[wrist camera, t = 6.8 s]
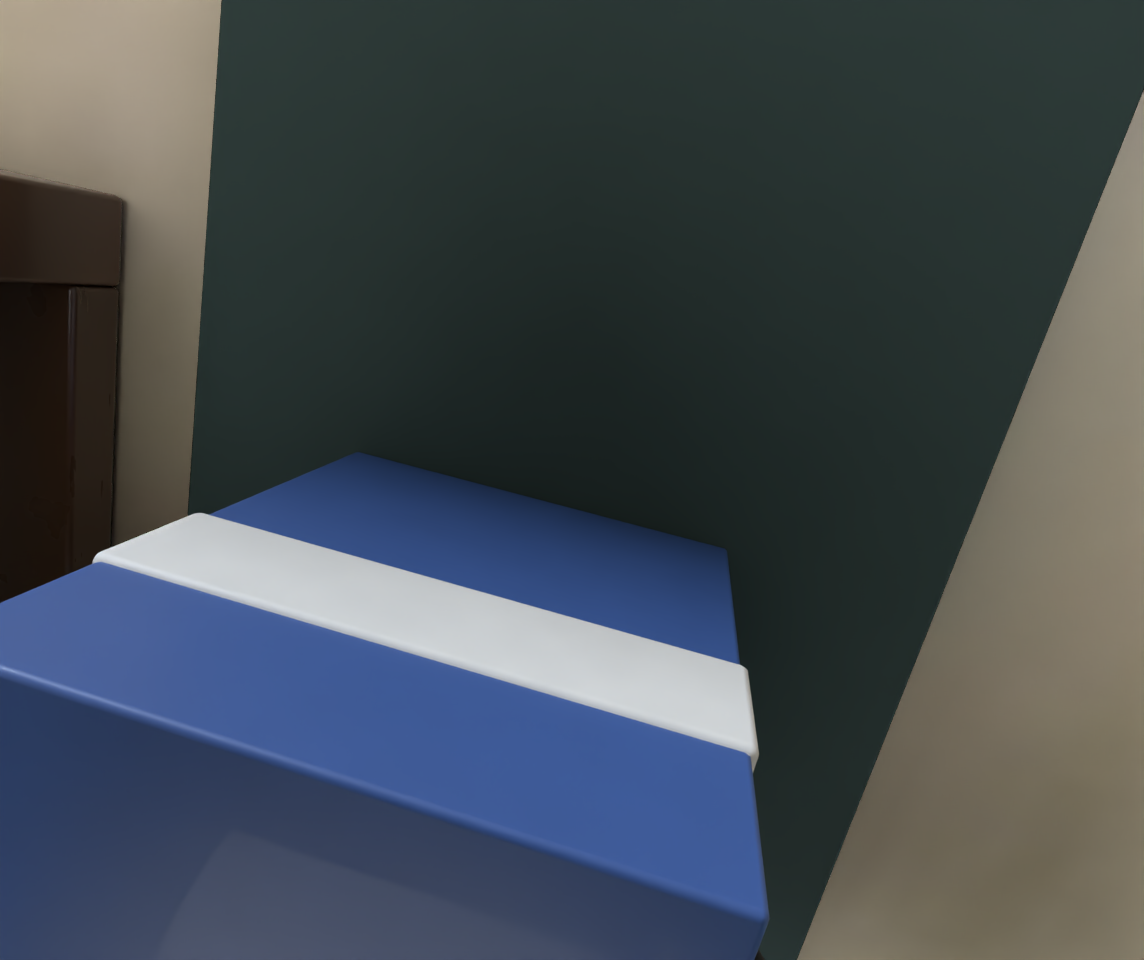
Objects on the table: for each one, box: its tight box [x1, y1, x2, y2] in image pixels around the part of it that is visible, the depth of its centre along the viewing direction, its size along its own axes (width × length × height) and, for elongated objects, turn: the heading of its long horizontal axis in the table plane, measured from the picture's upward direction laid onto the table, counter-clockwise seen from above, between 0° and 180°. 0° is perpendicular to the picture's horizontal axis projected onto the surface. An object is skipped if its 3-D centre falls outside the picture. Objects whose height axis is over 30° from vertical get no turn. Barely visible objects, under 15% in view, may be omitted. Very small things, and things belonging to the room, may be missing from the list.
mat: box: [188, 0, 1144, 960], centre depth 10 cm, size 20×10×1 cm, turn 168°
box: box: [0, 452, 770, 960], centre depth 7 cm, size 7×5×6 cm
